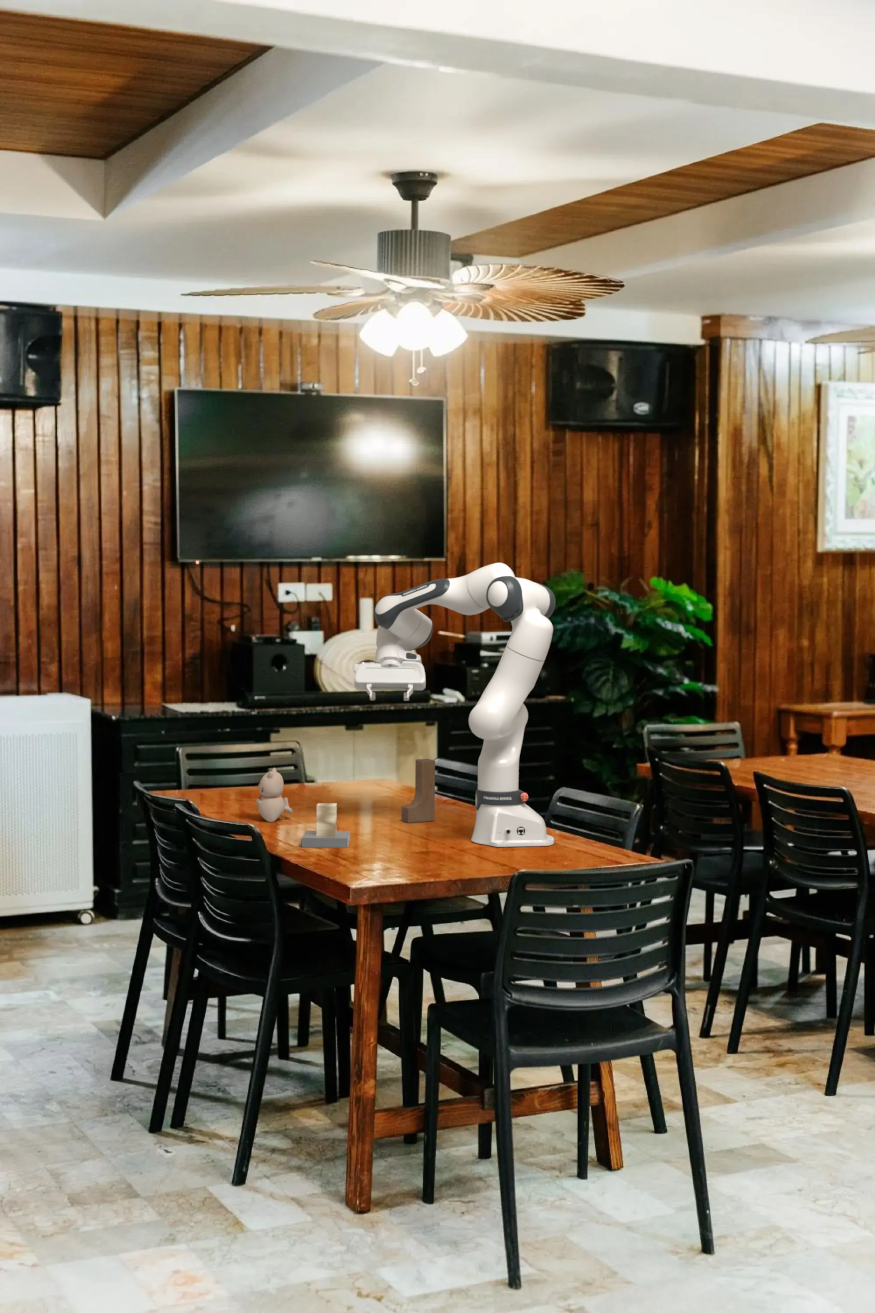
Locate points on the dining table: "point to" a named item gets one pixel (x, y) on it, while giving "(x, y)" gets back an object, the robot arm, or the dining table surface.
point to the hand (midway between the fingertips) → (389, 699)
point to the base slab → (326, 840)
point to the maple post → (326, 819)
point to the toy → (272, 796)
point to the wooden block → (422, 794)
